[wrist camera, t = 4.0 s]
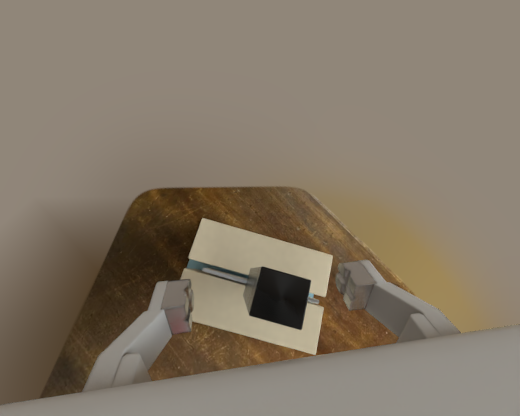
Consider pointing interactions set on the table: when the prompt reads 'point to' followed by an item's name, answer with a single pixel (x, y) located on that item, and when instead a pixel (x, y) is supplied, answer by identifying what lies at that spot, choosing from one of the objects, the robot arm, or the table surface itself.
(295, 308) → the slider knob post
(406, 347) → the robot arm
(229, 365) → the table surface
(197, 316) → the slide lever switch
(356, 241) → the table surface
